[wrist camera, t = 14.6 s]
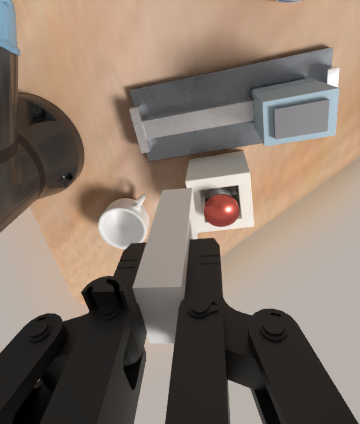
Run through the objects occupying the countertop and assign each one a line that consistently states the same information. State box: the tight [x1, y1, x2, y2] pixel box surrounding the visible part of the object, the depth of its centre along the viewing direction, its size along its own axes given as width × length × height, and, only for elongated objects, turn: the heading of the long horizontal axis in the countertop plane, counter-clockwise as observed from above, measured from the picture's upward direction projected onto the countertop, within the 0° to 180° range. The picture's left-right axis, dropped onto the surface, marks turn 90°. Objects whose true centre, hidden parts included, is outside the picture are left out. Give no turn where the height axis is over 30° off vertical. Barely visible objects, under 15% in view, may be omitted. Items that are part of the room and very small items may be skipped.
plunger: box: [204, 186, 239, 227], centre depth 38 cm, size 4×4×8 cm
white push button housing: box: [185, 151, 254, 233], centre depth 40 cm, size 8×8×8 cm
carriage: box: [251, 78, 339, 146], centre depth 31 cm, size 7×5×9 cm, turn 101°
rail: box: [129, 47, 339, 161], centre depth 36 cm, size 25×10×3 cm, turn 101°
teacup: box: [98, 194, 149, 249], centre depth 45 cm, size 10×8×5 cm
